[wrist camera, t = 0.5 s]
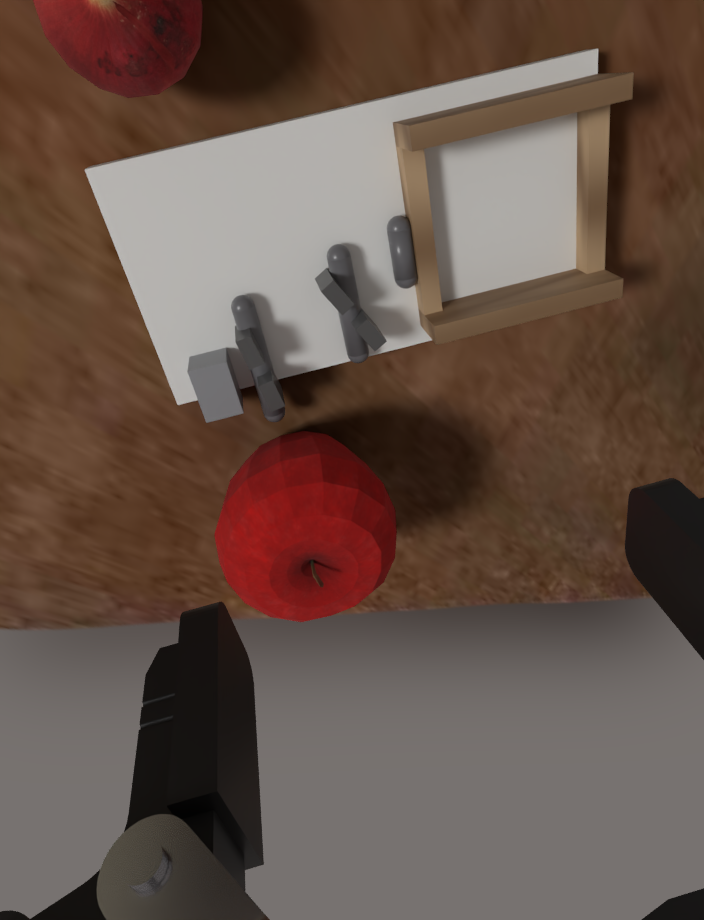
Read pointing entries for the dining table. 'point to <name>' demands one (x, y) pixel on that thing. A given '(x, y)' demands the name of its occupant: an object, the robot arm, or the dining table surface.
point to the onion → (125, 40)
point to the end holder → (592, 183)
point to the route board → (332, 233)
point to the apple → (305, 528)
